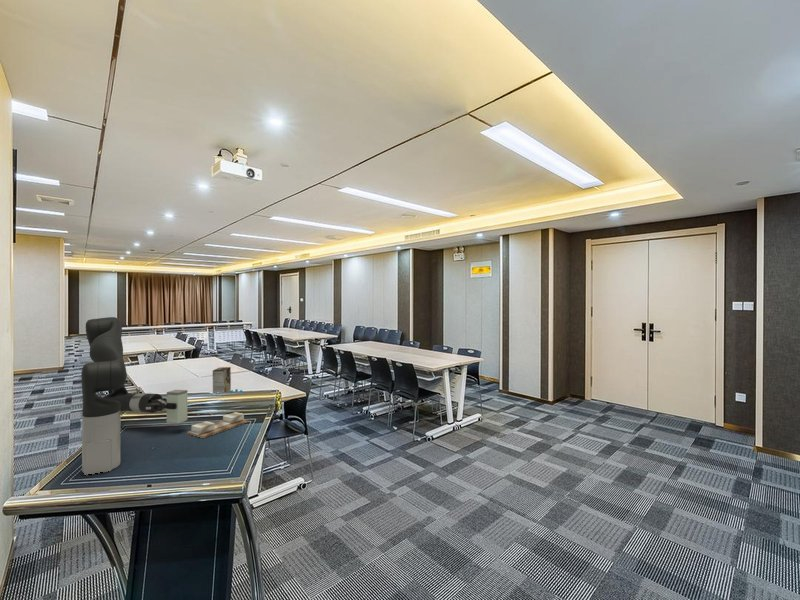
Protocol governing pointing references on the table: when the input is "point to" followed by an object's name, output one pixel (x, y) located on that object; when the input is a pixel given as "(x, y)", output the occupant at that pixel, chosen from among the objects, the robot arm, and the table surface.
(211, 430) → the rail board
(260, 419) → the table surface
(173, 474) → the table surface
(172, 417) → the block
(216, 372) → the coffee box
